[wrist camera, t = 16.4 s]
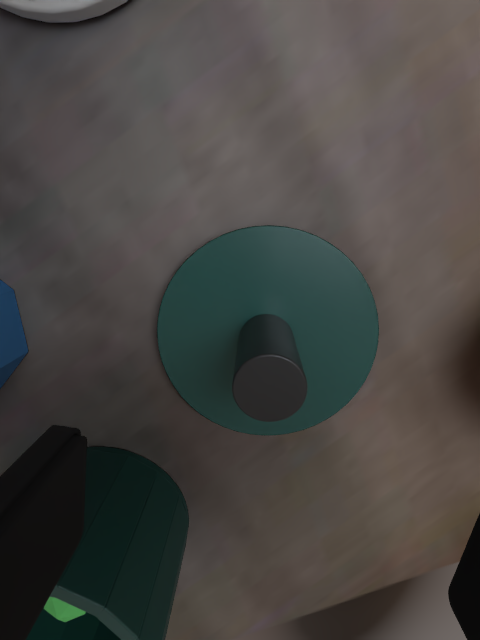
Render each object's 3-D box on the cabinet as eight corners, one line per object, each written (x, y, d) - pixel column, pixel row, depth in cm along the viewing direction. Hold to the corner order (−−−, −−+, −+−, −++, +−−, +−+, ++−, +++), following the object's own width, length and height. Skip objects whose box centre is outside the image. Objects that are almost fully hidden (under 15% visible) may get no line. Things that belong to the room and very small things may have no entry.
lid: (171, 209, 18) (125, 206, 12) (397, 243, 18) (473, 259, 12) (154, 408, 21) (110, 491, 15) (345, 438, 21) (383, 533, 15)
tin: (30, 434, 22) (-100, 561, 14) (197, 460, 22) (162, 602, 14) (33, 561, 25) (-73, 727, 17) (180, 585, 25) (144, 761, 17)
